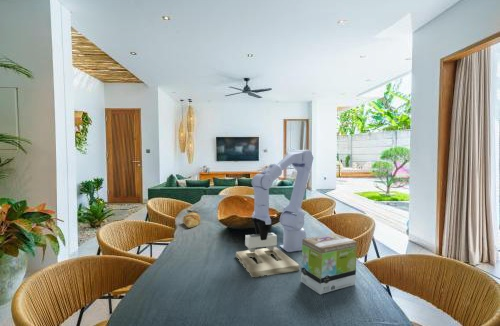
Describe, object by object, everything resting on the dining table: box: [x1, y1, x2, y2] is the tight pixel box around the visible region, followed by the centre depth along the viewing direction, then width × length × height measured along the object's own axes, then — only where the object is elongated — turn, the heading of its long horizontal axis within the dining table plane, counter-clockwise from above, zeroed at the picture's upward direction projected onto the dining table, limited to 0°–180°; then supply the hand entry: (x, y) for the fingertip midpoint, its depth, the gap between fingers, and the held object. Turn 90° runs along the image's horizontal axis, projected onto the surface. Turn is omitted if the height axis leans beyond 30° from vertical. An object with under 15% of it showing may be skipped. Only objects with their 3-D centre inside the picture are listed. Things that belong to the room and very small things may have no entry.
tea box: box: [300, 233, 358, 296], centre depth 92 cm, size 15×10×15 cm, turn 118°
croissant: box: [182, 211, 201, 229], centre depth 165 cm, size 21×10×8 cm, turn 5°
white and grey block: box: [244, 232, 278, 252], centre depth 112 cm, size 12×4×6 cm, turn 110°
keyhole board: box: [235, 246, 300, 278], centre depth 109 cm, size 18×20×2 cm
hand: (261, 237), depth 112 cm, fingers closed on white and grey block, 4 cm apart
